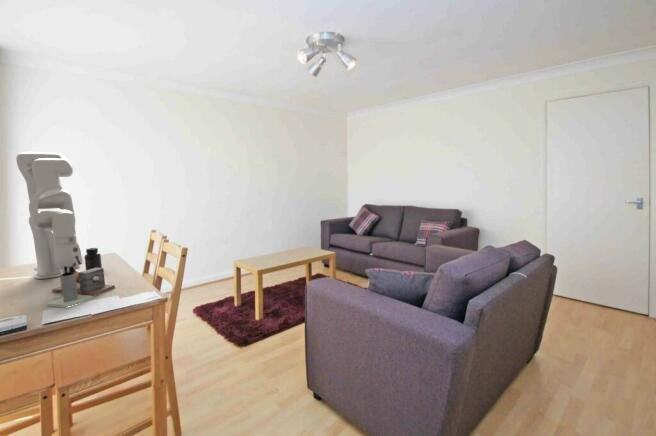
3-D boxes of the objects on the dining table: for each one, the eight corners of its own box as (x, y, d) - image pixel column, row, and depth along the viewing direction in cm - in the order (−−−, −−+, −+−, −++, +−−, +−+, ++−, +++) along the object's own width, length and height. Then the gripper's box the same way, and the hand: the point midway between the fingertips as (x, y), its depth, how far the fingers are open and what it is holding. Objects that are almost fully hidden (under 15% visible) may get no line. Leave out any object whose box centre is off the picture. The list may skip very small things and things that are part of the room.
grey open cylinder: (67, 297, 131) (64, 272, 129) (80, 296, 131) (77, 271, 130) (60, 301, 126) (57, 276, 125) (73, 301, 127) (70, 275, 125)
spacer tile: (47, 305, 125) (47, 303, 125) (73, 296, 135) (73, 293, 134) (68, 308, 123) (67, 305, 122) (93, 298, 132) (92, 295, 132)
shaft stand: (52, 291, 140) (49, 271, 139) (75, 284, 149) (73, 265, 148) (93, 296, 135) (91, 274, 133) (114, 287, 144) (112, 268, 143)
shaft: (70, 284, 140) (68, 273, 140) (81, 280, 145) (80, 269, 144) (91, 286, 137) (90, 274, 137) (102, 282, 142) (101, 271, 142)
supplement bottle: (105, 270, 171) (103, 247, 170) (92, 274, 165) (89, 250, 163) (96, 269, 173) (93, 246, 172) (82, 272, 167) (80, 249, 165)
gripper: (87, 239, 143) (92, 280, 145) (61, 238, 146) (65, 277, 149) (70, 242, 135) (75, 285, 138) (42, 241, 139) (48, 283, 141)
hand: (70, 281), depth 143 cm, fingers closed
